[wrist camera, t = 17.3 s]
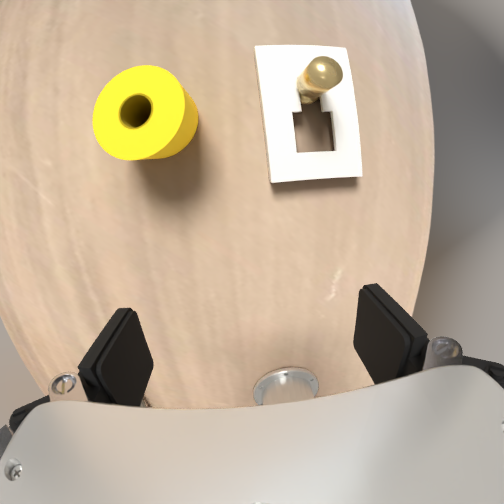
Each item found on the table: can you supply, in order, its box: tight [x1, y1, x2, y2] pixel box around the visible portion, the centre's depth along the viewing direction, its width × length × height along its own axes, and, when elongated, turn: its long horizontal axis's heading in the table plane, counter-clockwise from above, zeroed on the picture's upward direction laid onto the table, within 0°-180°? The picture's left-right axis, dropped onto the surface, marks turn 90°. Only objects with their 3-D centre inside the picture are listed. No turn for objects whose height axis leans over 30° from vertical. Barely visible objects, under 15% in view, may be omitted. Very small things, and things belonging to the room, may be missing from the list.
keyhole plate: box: [254, 45, 362, 183], centre depth 30 cm, size 18×12×2 cm, turn 6°
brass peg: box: [296, 56, 343, 104], centre depth 26 cm, size 4×4×9 cm
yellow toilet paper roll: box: [93, 65, 198, 160], centre depth 26 cm, size 10×10×9 cm
